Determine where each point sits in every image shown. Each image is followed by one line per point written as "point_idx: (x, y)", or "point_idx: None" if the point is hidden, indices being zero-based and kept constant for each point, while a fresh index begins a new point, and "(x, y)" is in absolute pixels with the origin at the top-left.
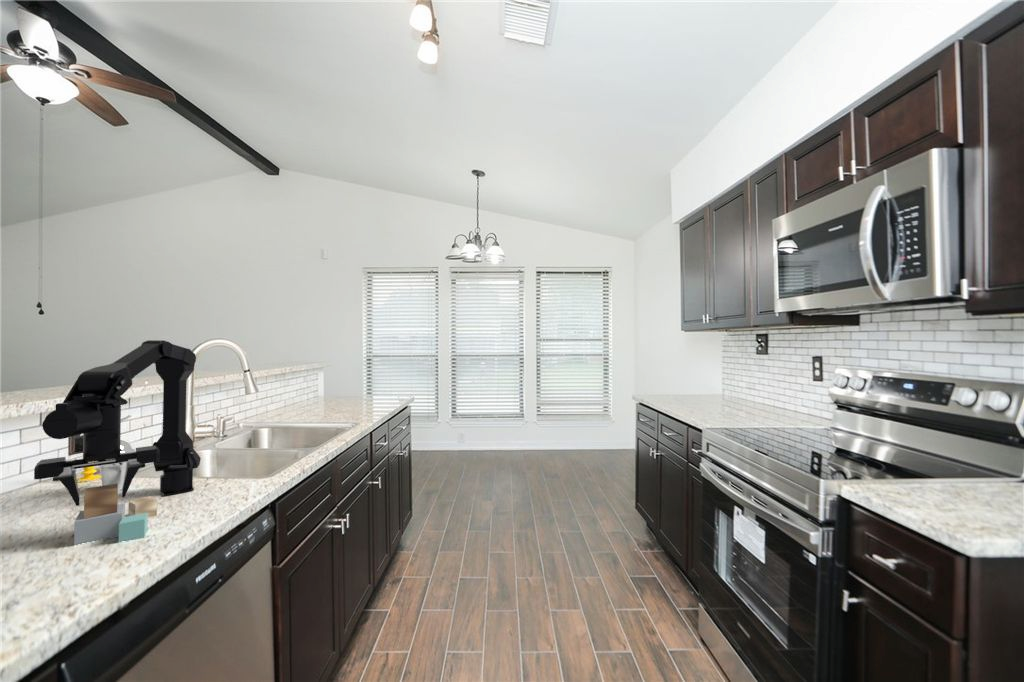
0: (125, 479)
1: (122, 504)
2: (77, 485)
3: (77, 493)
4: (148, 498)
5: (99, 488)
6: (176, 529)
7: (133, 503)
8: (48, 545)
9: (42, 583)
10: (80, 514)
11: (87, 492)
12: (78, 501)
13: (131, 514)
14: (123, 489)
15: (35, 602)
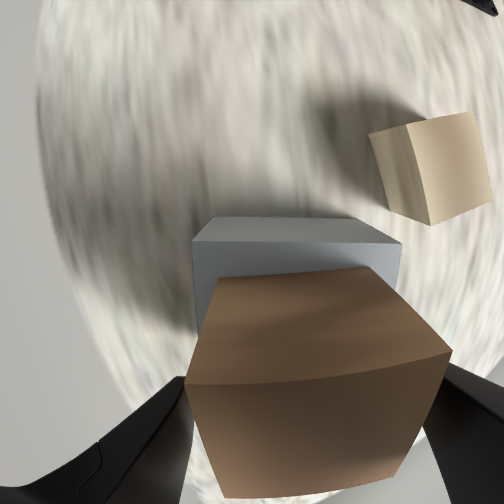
0: (449, 496)
1: (392, 262)
2: (130, 474)
3: (181, 490)
4: (472, 156)
5: (308, 444)
6: None
7: (425, 194)
8: (143, 283)
9: (211, 471)
10: (205, 313)
11: (233, 480)
12: (190, 427)
13: (389, 169)
14: (426, 430)
15: (221, 497)
